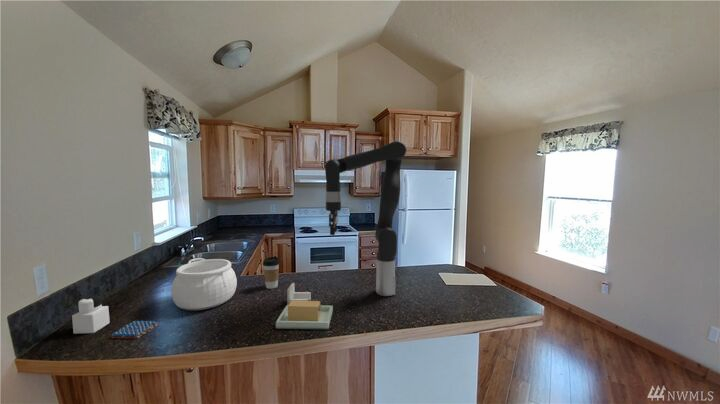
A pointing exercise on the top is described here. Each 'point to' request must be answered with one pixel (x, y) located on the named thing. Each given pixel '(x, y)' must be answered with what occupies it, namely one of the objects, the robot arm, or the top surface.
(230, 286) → the pot
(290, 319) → the box with top handle
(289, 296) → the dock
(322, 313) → the tray
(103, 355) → the top surface
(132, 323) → the woven mat
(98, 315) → the white knobbed block
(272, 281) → the coffee cup
